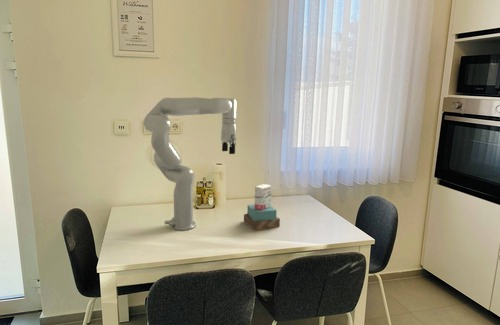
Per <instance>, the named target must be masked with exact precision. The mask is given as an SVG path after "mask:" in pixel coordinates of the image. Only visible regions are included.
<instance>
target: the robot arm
mask: <svg viewBox="0 0 500 325" xmlns="http://www.w3.org/2000/svg"><path fill="white" fill-rule="evenodd" d="M212 114H213V115H215V114H216V115H217V114H221V120H222V121H221V132H220V133H221V135H220V140H221V144H222V146H221V147H222V148H221V150H222V152H228V151H229V152H228V153H229V155H235V154H236V143H237V138H236V136H237V134H236V131H237V130H236V125H237V100H236V99H235V98H232V97H231V98H230V97H229V98H227V97H212V98H208V97H207V98H205V97H196V96H195V97H162V99H160V100H159V102H157V103H156V104H155V105H154V107H152V109H151V110H150V111H149V112H148V113H147V114H146V116H144V119H143V127H144V129H146V130H147V131H149V132H150V133H152V134H151V138H150V139H151V141H150V144H151V147H152V149H153V150H154V153H153V154H154V155H153V161H154V163H155V165H156V167H157V168H158V170H160V172H161V173H162V174H163V176H164V177H165V178H166V179H167V180H168V181H169V182H172V183H175V186H174V190H173V217H172V218H171V219H170V220H165V221H164V225H166V226H167V225H168V226H170V227H171V228H172V229H173V230H176V231H189V230H192V229H194V228H195V227H196V226H197V223H196V222H195V221H194V217H193V211H194V209H193V208H194V206H193V203H194V201H193V200H194V199H193V197H194V196H193V195H194V194H193V191H194V190H193V189H194V188H193V187H194V183H195V173H194V170H192V169H191V168H190V167H189V166H185V165H182V158H181V156H180V154H179V153H178V151H177V149H176V148H175V147H174V145H173V144H172V142H171V140H170V136H169V135H170V132H171V128H172V123H171V120H170V119H169V118H168V116H175V117H177V116H179V117H180V116H196V115H198V116H200V115H212ZM228 147H229V148H228Z"/></svg>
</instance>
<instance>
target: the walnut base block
mask: <svg viewBox="0 0 500 325" xmlns="http://www.w3.org/2000/svg"><path fill="white" fill-rule="evenodd" d="M243 223H245V224H246V225H248V226H249V227H250V228H252V229H253V230H255V231H256V232H257V231H261V230H268V229H274V228H280V225H281V224H280V223H281V219H280V218H279V217H278V216H276V220H264V221H253V219H252V218H251V217H250V216H249V215H248V214H247V213H244V214H243Z"/></svg>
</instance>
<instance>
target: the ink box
mask: <svg viewBox="0 0 500 325" xmlns="http://www.w3.org/2000/svg"><path fill="white" fill-rule="evenodd" d="M271 204H272V185H270V184H267V183H263V184H260V185H256V186H254V205H255V209H259V210H263V209H266V208H268V207H271V206H272V205H271Z"/></svg>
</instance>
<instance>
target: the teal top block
mask: <svg viewBox="0 0 500 325" xmlns="http://www.w3.org/2000/svg"><path fill="white" fill-rule="evenodd" d="M246 214H248V215H249V216H250V217H251V218H252V219H253V221H264V220H276V217H277V209H276V208H274V207H273V206H272V205H271V207H268V208H266V209H263V210H259V209H255V204H247V212H246Z"/></svg>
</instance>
